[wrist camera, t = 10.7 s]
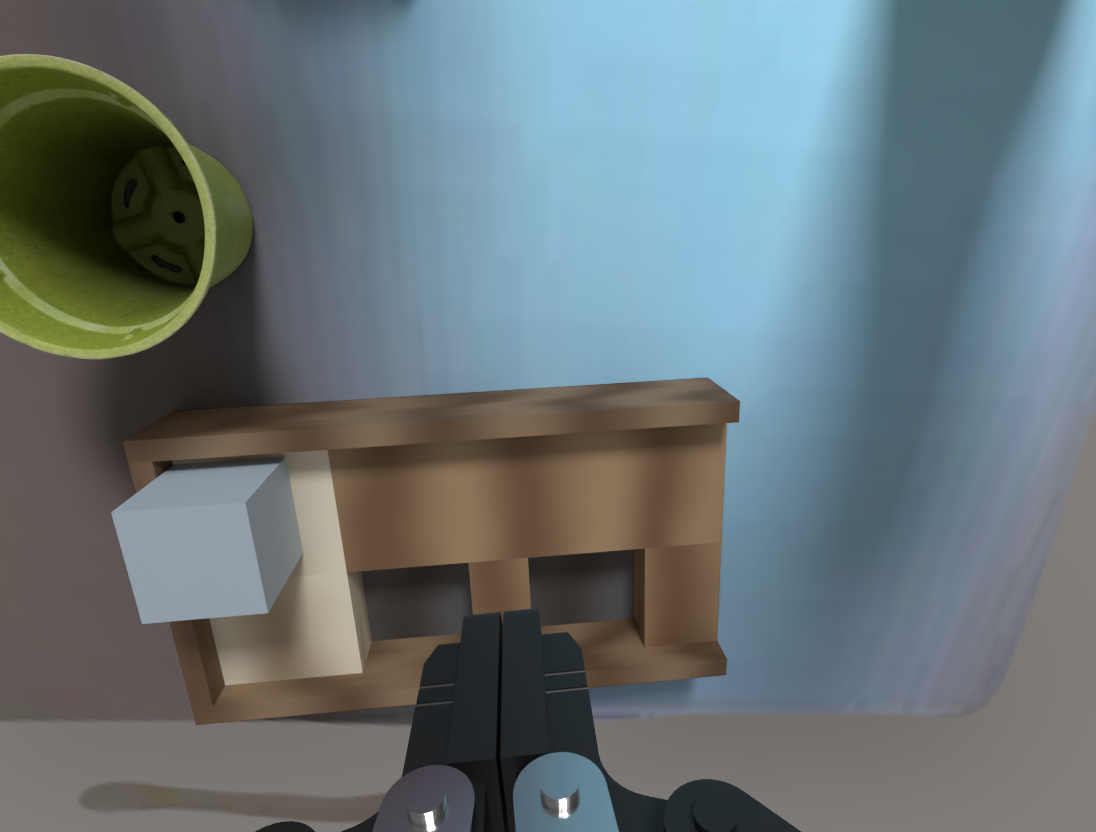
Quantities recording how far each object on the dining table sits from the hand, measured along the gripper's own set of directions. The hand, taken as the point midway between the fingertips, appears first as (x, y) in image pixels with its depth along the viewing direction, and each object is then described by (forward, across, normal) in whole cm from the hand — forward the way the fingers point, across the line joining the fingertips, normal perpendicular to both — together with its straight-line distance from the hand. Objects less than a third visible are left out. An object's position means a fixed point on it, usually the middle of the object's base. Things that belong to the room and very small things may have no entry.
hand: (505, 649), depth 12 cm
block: (+17, +13, +4) cm, 22 cm away
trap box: (+20, +3, +8) cm, 22 cm away
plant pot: (+21, +14, -9) cm, 26 cm away
